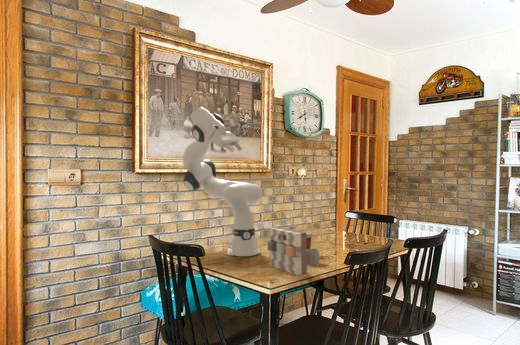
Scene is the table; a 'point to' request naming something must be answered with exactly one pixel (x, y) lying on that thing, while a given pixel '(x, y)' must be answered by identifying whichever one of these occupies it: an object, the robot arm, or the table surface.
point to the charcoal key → (272, 246)
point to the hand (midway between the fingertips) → (237, 150)
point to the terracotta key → (290, 251)
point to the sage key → (280, 248)
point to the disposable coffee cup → (308, 239)
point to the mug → (312, 256)
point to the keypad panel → (283, 261)
